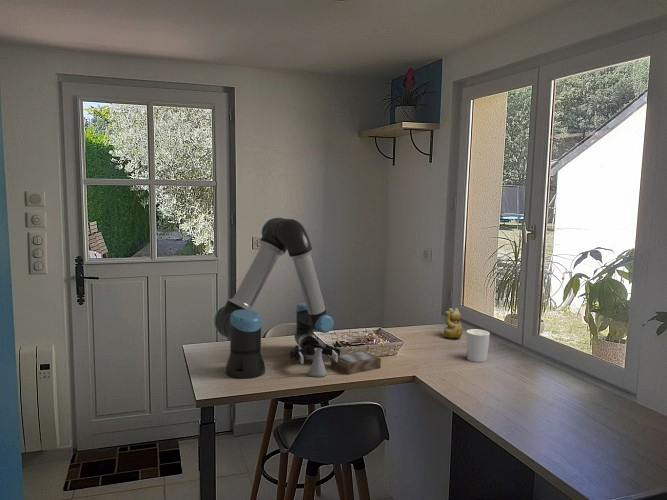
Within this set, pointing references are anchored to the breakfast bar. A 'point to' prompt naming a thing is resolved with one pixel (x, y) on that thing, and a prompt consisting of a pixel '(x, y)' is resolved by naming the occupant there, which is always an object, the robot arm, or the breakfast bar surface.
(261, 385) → the breakfast bar surface
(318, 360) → the flask
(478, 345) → the candle holder
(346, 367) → the walnut stand
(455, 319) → the decorative figurine
